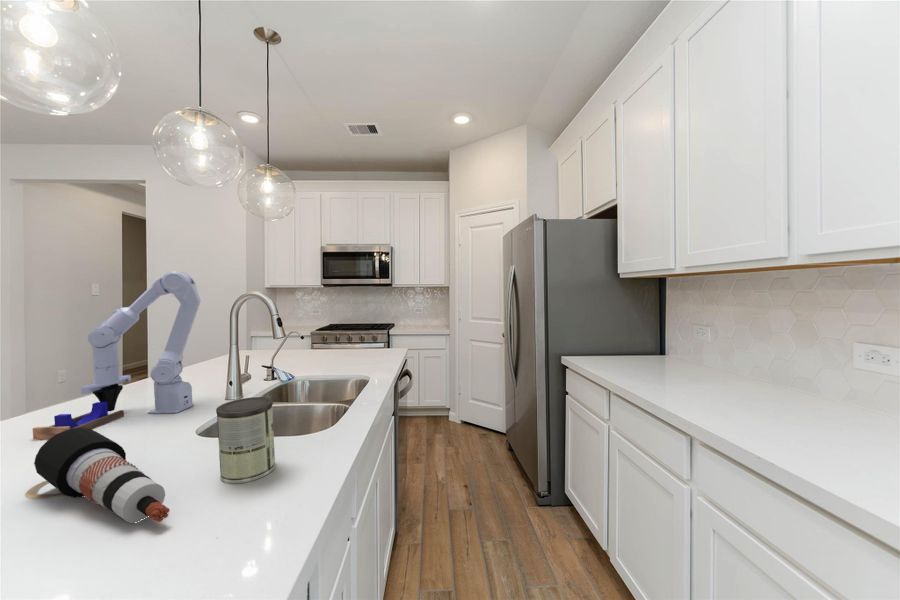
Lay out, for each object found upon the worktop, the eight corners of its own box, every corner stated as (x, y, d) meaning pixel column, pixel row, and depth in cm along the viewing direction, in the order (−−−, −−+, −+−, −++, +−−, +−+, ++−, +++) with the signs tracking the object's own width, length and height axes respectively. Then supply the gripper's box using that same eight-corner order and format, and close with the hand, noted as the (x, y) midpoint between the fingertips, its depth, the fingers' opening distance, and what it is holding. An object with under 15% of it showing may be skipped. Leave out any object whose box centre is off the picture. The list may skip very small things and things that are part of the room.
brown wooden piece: (124, 416, 117) (123, 406, 117) (66, 439, 100) (66, 427, 100) (95, 417, 118) (94, 407, 117) (33, 439, 100) (32, 428, 100)
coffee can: (213, 472, 80) (210, 404, 79) (265, 455, 87) (262, 394, 86) (227, 490, 72) (224, 416, 72) (283, 470, 80) (280, 403, 79)
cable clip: (93, 422, 113) (92, 402, 113) (108, 422, 113) (107, 402, 113) (50, 438, 101) (48, 416, 101) (66, 438, 101) (65, 415, 101)
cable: (146, 563, 60) (107, 526, 55) (56, 491, 75) (20, 456, 71) (206, 505, 67) (177, 467, 62) (112, 450, 83) (84, 416, 78)
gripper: (114, 361, 124) (117, 403, 125) (69, 372, 110) (72, 419, 110) (136, 361, 124) (138, 403, 124) (93, 371, 109) (96, 418, 110)
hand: (109, 410), depth 117 cm, fingers closed
